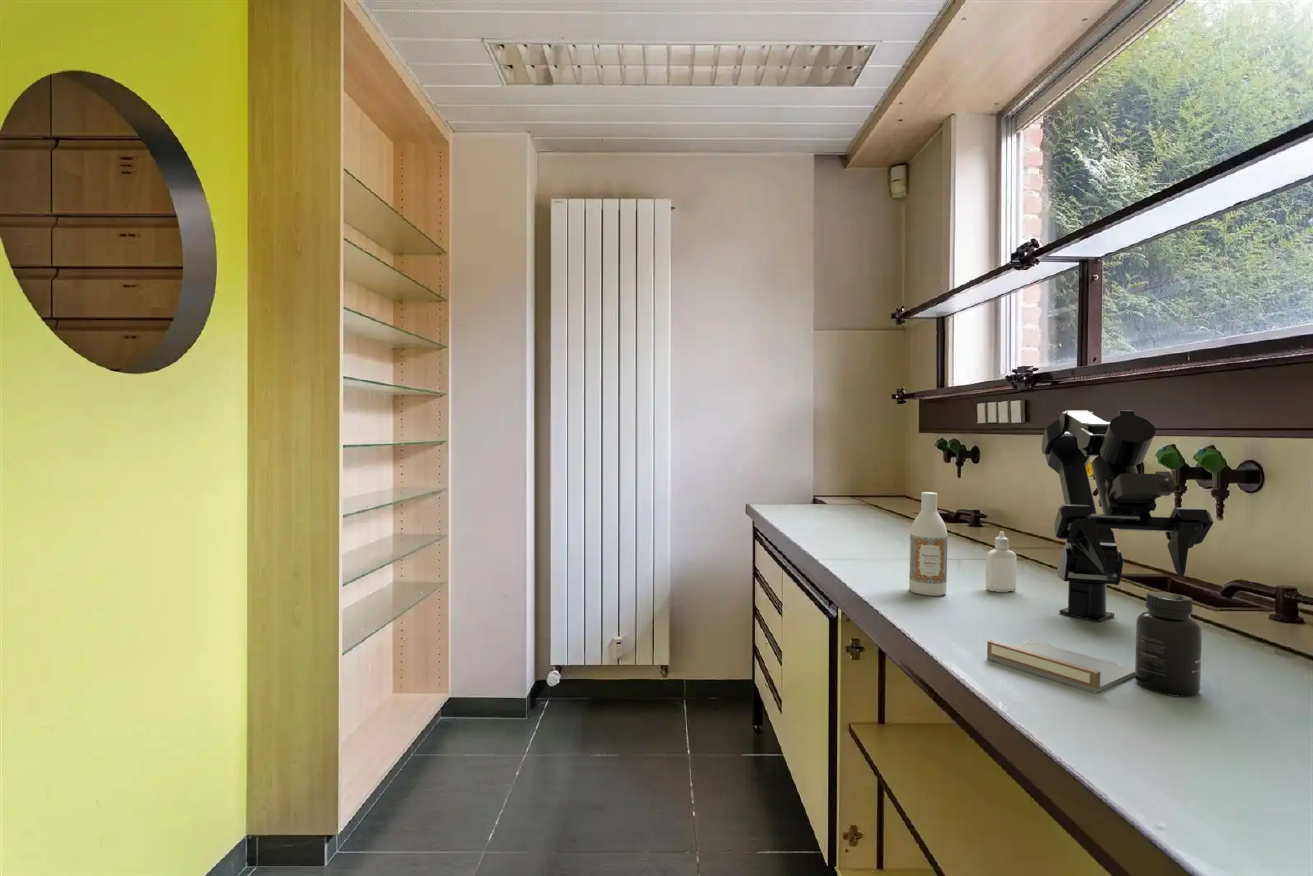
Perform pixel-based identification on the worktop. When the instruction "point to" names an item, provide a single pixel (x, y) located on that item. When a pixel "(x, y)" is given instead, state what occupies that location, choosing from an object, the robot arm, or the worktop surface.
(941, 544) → the bath foam
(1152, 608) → the supplement bottle
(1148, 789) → the worktop surface
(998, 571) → the eye dropper bottle
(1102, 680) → the shelf board
